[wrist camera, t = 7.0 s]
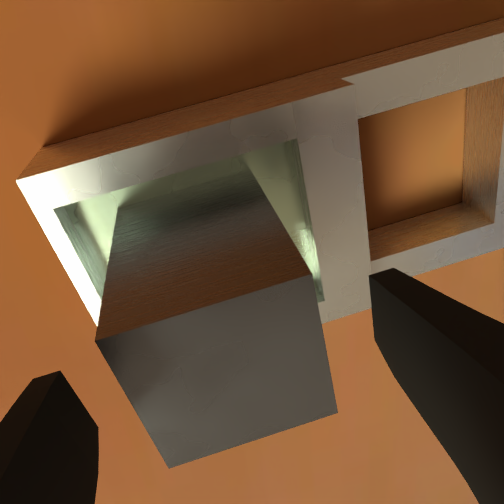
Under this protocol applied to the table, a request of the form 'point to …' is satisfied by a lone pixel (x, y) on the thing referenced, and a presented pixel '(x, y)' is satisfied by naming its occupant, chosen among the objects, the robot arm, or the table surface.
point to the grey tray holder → (293, 167)
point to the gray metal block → (212, 320)
